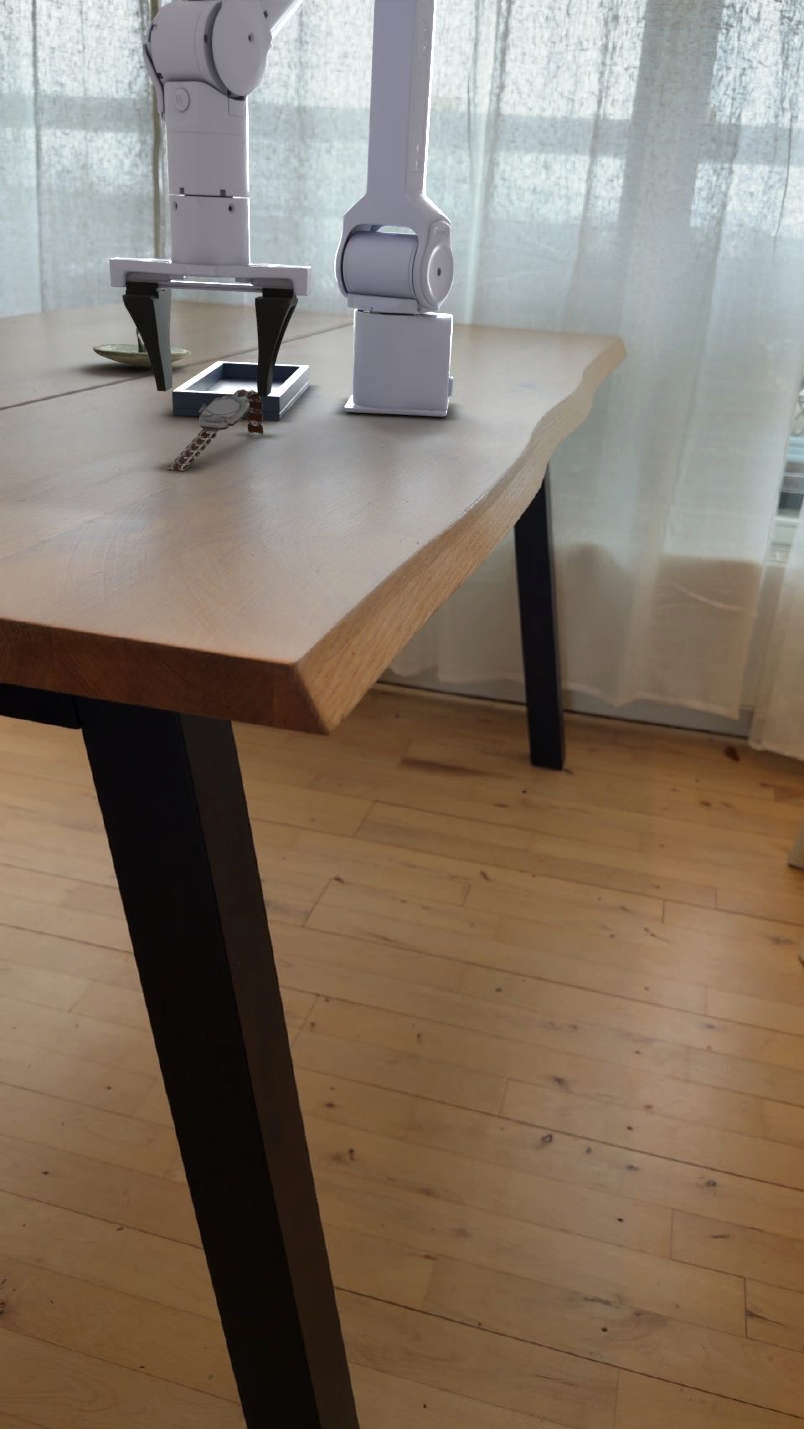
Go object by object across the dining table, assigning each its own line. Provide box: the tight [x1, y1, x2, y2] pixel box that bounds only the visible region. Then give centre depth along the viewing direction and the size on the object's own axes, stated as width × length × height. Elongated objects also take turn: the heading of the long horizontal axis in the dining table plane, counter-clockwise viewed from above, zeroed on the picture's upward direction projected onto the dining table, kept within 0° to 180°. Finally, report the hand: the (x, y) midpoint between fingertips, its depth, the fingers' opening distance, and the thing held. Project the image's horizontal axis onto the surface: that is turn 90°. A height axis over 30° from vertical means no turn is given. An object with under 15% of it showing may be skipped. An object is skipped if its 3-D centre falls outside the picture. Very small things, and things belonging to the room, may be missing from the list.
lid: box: [92, 327, 192, 368], centre depth 126 cm, size 11×10×5 cm
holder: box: [171, 361, 310, 421], centre depth 110 cm, size 20×10×2 cm, turn 177°
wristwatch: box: [167, 389, 265, 472], centre depth 89 cm, size 4×14×5 cm, turn 163°
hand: (214, 392), depth 87 cm, fingers open, 7 cm apart
